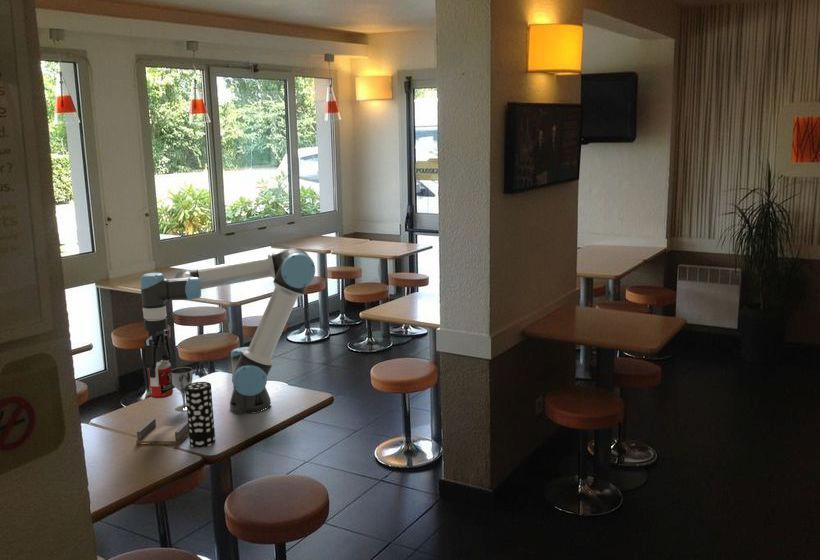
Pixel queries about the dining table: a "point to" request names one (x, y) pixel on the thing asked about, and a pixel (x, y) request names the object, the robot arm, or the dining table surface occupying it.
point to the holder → (162, 433)
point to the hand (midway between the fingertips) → (160, 382)
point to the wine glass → (182, 382)
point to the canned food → (162, 381)
